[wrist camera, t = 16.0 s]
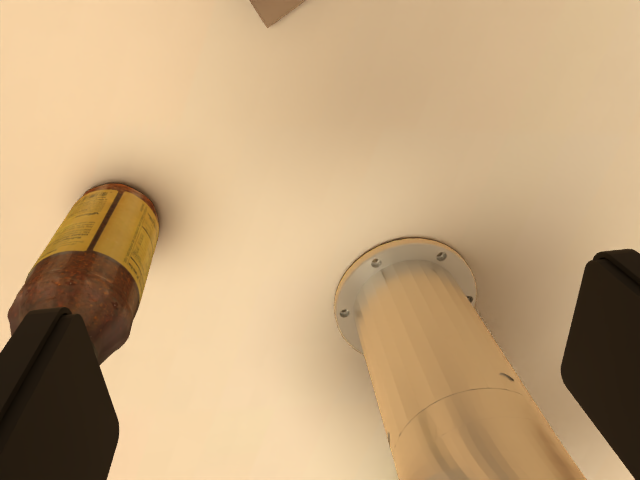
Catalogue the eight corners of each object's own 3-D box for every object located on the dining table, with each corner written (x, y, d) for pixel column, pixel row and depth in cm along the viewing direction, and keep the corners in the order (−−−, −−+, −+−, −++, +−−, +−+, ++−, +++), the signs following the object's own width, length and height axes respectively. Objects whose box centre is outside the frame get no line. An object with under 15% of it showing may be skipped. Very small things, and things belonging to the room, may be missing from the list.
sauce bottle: (70, 241, 38) (-83, 465, 21) (84, 167, 36) (-79, 353, 18) (157, 262, 40) (81, 486, 23) (175, 194, 37) (106, 387, 20)
